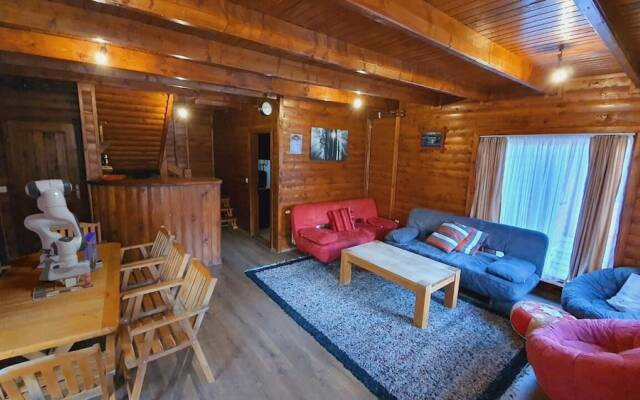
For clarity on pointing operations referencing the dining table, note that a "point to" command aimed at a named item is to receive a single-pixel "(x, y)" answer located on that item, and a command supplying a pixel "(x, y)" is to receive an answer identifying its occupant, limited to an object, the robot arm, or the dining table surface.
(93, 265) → the cereal box
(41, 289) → the dice tray
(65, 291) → the track board
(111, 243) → the dining table surface
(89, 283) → the pawn
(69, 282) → the die
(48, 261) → the character figurine
